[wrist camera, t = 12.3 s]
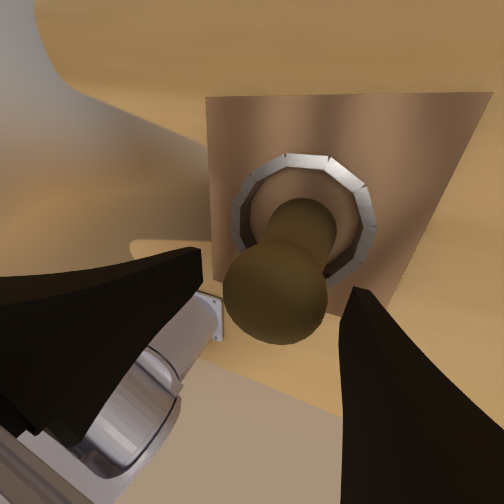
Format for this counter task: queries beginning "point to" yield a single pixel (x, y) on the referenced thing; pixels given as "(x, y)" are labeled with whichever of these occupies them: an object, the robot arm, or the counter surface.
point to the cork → (283, 275)
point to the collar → (367, 221)
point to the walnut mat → (350, 156)
